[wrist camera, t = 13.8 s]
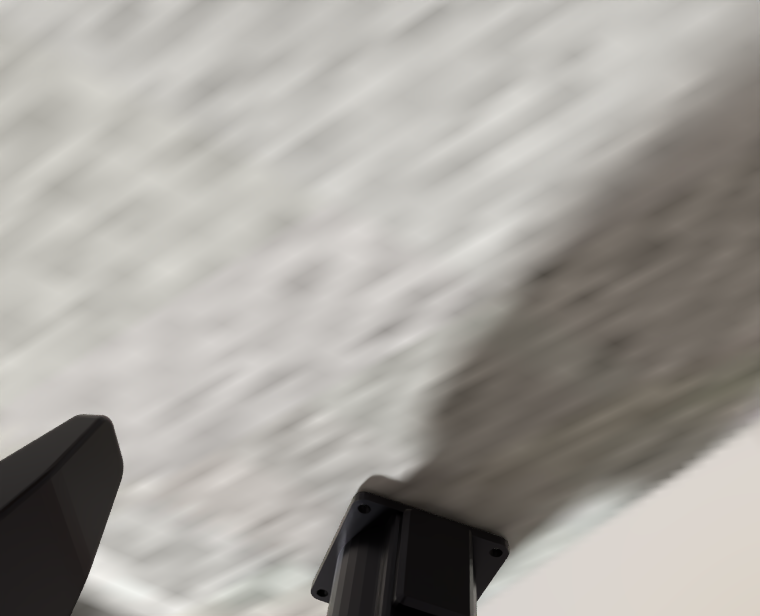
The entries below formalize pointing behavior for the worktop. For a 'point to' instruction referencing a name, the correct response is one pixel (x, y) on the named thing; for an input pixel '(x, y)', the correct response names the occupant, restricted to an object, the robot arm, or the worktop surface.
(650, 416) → the worktop surface
